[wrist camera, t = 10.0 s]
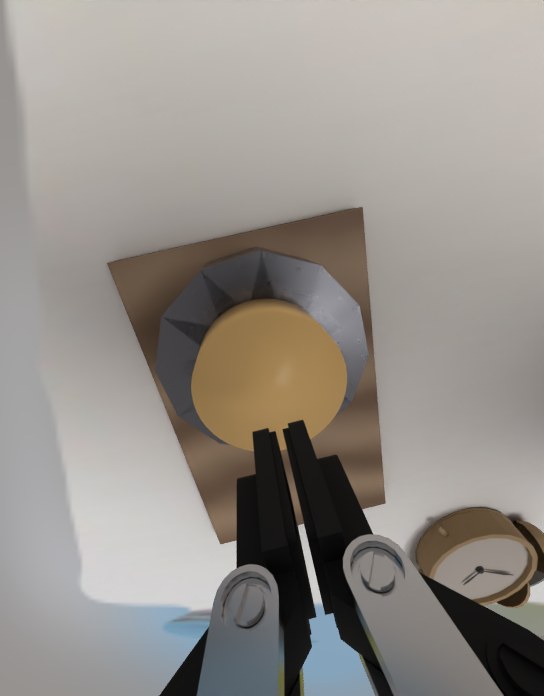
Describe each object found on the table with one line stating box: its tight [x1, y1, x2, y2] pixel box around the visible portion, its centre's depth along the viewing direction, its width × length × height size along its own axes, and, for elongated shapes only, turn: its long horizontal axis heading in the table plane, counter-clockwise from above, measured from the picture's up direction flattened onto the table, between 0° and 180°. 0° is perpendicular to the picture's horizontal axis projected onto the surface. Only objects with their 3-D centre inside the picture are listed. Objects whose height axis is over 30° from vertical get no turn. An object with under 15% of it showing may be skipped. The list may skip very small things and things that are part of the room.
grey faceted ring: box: [155, 247, 369, 445], centre depth 19 cm, size 12×12×4 cm
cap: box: [191, 299, 347, 451], centre depth 18 cm, size 8×8×7 cm
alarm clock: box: [416, 508, 544, 608], centre depth 33 cm, size 11×5×15 cm
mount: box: [107, 207, 385, 544], centre depth 24 cm, size 26×16×1 cm, turn 12°
